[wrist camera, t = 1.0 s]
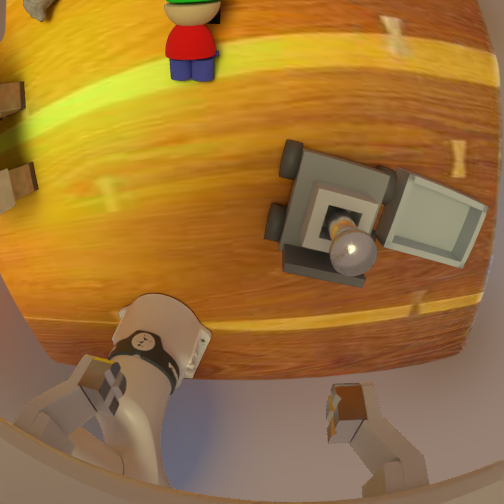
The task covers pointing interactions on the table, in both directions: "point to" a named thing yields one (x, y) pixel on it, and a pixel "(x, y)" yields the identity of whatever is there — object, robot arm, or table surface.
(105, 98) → the table surface
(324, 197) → the trolley
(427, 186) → the tray
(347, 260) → the pin
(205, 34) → the toy
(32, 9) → the seashell
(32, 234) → the table surface
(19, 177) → the toy
